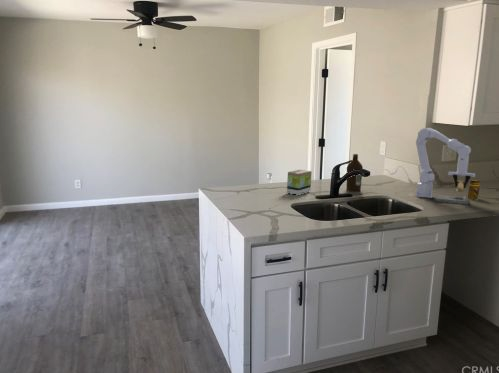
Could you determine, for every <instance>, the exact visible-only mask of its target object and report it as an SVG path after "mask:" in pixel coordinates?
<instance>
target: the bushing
mask: <svg viewBox="0 0 499 373" xmlns="http://www.w3.org/2000/svg"><path fill="white" fill-rule="evenodd" d="M464 184H465V180H457V188H456V187H455V191H456V192H464V190H465V188H464Z"/></svg>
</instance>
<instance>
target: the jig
mask: <svg viewBox="0 0 499 373" xmlns="http://www.w3.org/2000/svg"><path fill="white" fill-rule="evenodd" d="M467 197H468V196H466V197H464V196H453V195H442V194H441V195H440V194H435V202H436V203H437V202H438V203H445V204H446V203H448V204H456V203H457V204H459V205H466V206H468V205H469V203H470V202H469V201H470V200H469V199H468V198H467Z"/></svg>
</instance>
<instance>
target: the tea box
mask: <svg viewBox="0 0 499 373" xmlns="http://www.w3.org/2000/svg"><path fill="white" fill-rule="evenodd" d="M286 181H287V182H286V194H287V193H291V194H290V195H292V194H296V195H295V196H298V195H299V196H302V195H304V193H305V194H308V193H307V192H309V191H310V192H311V190H312V189H311V188H312V186H311V185H312V171H311V170H306V169H295V170H292V171H287V180H286ZM310 192H309V193H310ZM301 194H302V195H301Z"/></svg>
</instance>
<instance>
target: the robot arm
mask: <svg viewBox="0 0 499 373" xmlns="http://www.w3.org/2000/svg"><path fill="white" fill-rule="evenodd" d="M431 138H432V139H433V138H435V139H437V140H439V141H441V142H442V143H445V144H446V145H447V147H448V148H449V149H452V150H453V151H454V152H456V153H457V154H458V157H457V166H456V167H457V168H456V171H448V176H452V177H453V180H454V187H455V189H456V188H457V181H458V177H459V176H460V177H464V181H465V184H464V189H466V187H467V184H468V182H469V181H470V180H471V177H472V178H475V177H476V173H473V172H472V173H471V172H468V168H469V161H470V154H471V152H472V148H471V147H470V146H469V145H465V143H462V142H460V141H458V139H457V138H449V137H448V136H446V135H445V134H443V133H441V132H439V131H438V130H436V129H434V128H432V127H426V128H424V127H422V128H421V129H420V130H419V131H418V132H417V137H416V140H415V145H416V149H417V150H416V152H417V155H418V159H419V160H418V161H419V164H420V171H419V181H420V182H417V185H416V192H415V193H416V197H417V198H429V199H432V198H433V185H434V184H433V183H434V182H433V181H434V180H435V178H436V175H435V173H434V172H433V169H432V168H431V166H430V161H429V156H428V151H427V145H426V143H427V142H428V141H429V140H430V139H431Z"/></svg>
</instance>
